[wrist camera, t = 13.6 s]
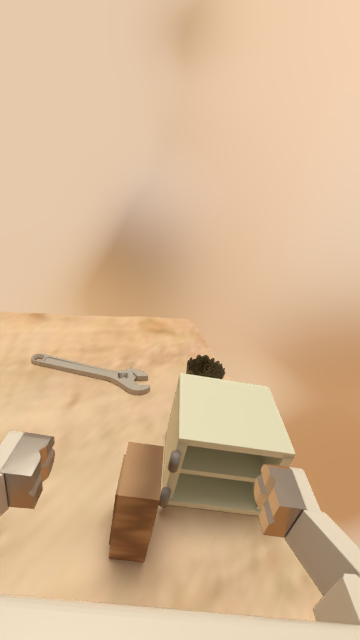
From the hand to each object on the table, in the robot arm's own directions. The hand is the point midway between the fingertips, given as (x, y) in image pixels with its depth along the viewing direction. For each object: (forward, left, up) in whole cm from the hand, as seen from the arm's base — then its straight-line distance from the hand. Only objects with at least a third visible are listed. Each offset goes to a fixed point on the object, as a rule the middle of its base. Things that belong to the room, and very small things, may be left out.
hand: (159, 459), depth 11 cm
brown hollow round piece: (+10, +38, -30) cm, 49 cm away
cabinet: (+11, +22, -30) cm, 38 cm away
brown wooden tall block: (0, +12, -30) cm, 32 cm away
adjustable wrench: (-12, +41, -30) cm, 52 cm away
